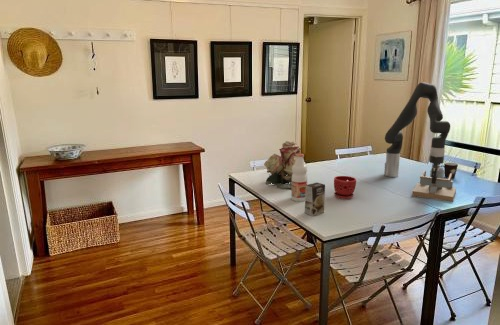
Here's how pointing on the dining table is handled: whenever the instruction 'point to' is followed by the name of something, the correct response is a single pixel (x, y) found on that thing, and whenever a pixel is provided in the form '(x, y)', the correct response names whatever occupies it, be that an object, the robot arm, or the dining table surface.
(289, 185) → the rose bouquet
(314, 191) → the coffee box
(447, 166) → the coffee mug
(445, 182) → the thin wooden rail frame
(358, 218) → the dining table surface
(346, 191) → the plant pot
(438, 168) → the robot arm
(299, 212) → the dining table surface
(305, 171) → the fruit juice
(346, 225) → the dining table surface
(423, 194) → the wooden peg board
